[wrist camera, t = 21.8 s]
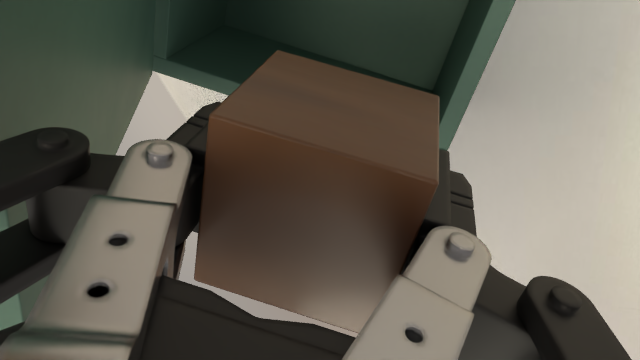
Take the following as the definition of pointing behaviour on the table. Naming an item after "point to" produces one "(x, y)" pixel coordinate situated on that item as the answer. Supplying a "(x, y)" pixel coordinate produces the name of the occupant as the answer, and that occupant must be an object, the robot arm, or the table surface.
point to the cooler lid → (70, 82)
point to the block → (315, 188)
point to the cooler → (335, 42)
